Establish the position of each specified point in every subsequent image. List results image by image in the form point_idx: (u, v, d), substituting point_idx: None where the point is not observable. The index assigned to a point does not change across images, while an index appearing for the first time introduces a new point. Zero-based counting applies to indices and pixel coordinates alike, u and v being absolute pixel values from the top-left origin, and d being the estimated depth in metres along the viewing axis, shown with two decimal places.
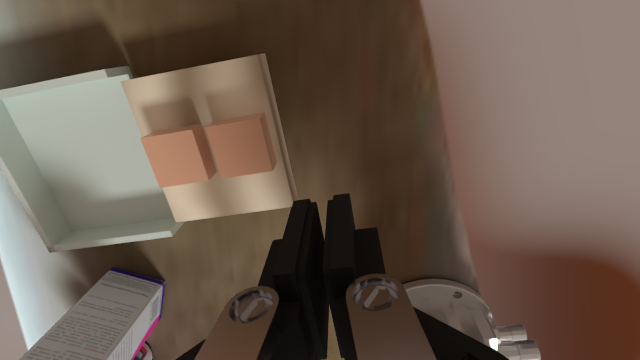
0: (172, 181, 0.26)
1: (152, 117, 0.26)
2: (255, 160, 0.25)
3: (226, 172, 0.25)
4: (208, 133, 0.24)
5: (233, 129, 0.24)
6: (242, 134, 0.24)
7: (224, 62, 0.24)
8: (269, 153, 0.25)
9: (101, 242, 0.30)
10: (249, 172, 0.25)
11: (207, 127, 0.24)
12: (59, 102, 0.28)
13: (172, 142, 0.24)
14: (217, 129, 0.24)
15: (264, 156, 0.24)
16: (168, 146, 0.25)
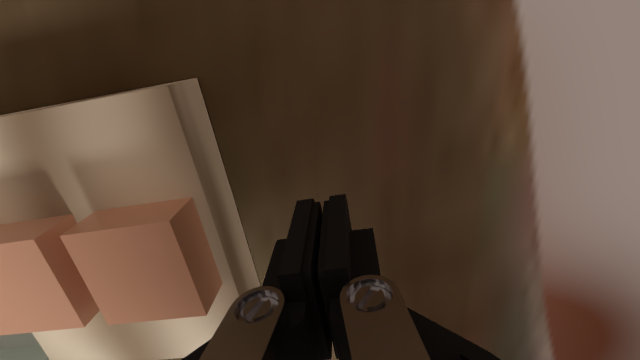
0: (16, 326, 0.13)
1: None
2: (170, 297, 0.12)
3: (116, 315, 0.13)
4: (68, 246, 0.12)
5: (118, 241, 0.11)
6: (138, 250, 0.11)
7: (100, 101, 0.11)
8: (199, 282, 0.12)
9: None
10: (160, 316, 0.13)
11: (64, 236, 0.11)
12: None
13: (0, 261, 0.12)
14: (85, 240, 0.11)
15: (187, 290, 0.12)
16: None
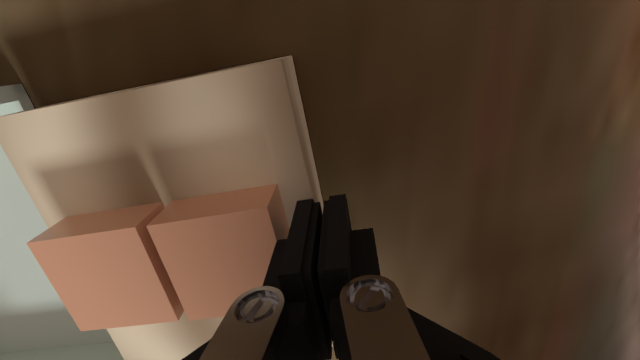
0: (104, 321, 0.12)
1: (62, 190, 0.12)
2: None
3: (198, 309, 0.12)
4: (155, 237, 0.11)
5: (209, 230, 0.11)
6: (229, 240, 0.11)
7: (205, 77, 0.11)
8: None
9: None
10: None
11: (151, 226, 0.11)
12: None
13: (96, 251, 0.11)
14: (173, 230, 0.11)
15: None
16: (88, 259, 0.11)
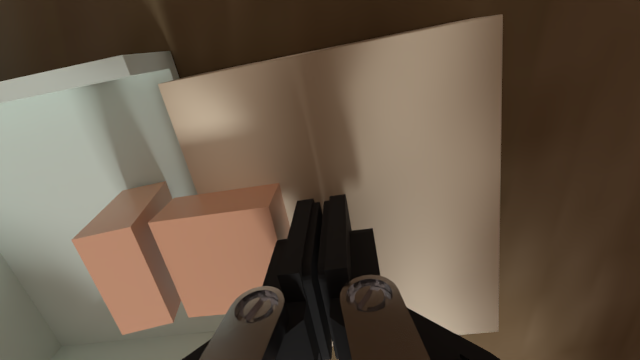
0: None
1: (225, 163, 0.12)
2: None
3: (198, 307, 0.12)
4: (156, 234, 0.11)
5: (210, 228, 0.11)
6: (230, 238, 0.11)
7: (413, 35, 0.10)
8: None
9: None
10: None
11: (153, 222, 0.11)
12: (27, 129, 0.14)
13: None
14: (175, 227, 0.11)
15: None
16: None
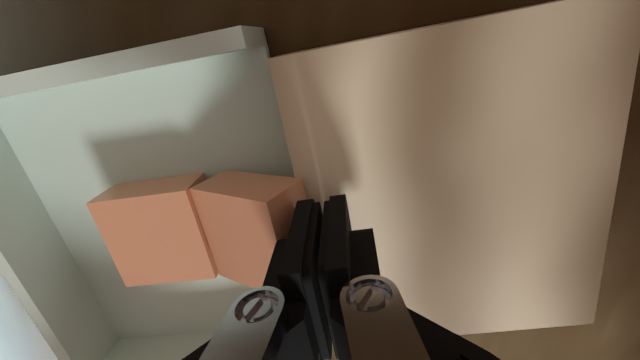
0: None
1: (329, 144, 0.11)
2: (264, 273, 0.12)
3: (225, 269, 0.14)
4: (195, 200, 0.13)
5: (227, 207, 0.12)
6: (241, 221, 0.11)
7: (551, 6, 0.09)
8: None
9: None
10: (256, 286, 0.13)
11: (192, 189, 0.12)
12: (106, 110, 0.13)
13: None
14: (205, 198, 0.12)
15: None
16: None
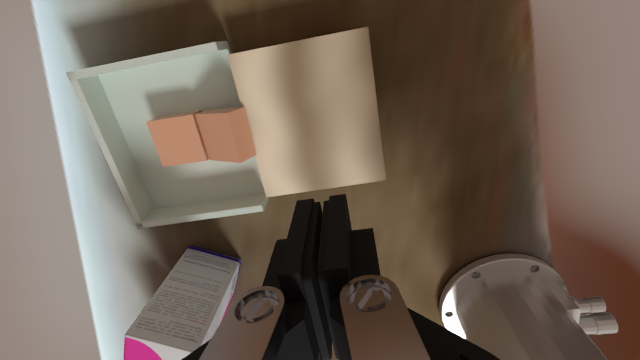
0: None
1: (255, 91, 0.26)
2: (228, 150, 0.27)
3: (211, 155, 0.28)
4: (197, 119, 0.27)
5: (211, 119, 0.26)
6: (217, 125, 0.26)
7: (333, 34, 0.24)
8: (239, 146, 0.26)
9: (190, 218, 0.30)
10: (225, 159, 0.28)
11: (196, 114, 0.27)
12: (155, 78, 0.28)
13: None
14: (202, 117, 0.27)
15: (234, 148, 0.26)
16: None
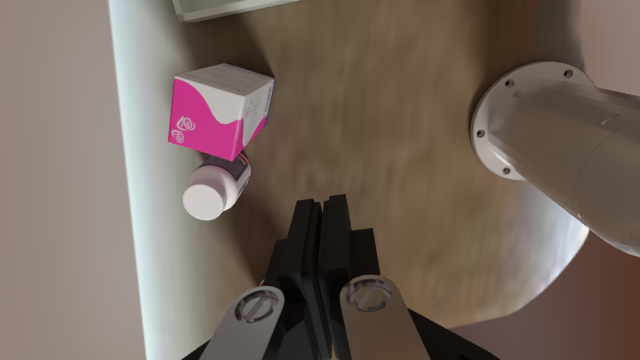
0: None
1: None
2: None
3: None
4: None
5: None
6: None
7: None
8: None
9: (231, 6, 0.31)
10: None
11: None
12: None
13: None
14: None
15: None
16: None
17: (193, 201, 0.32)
